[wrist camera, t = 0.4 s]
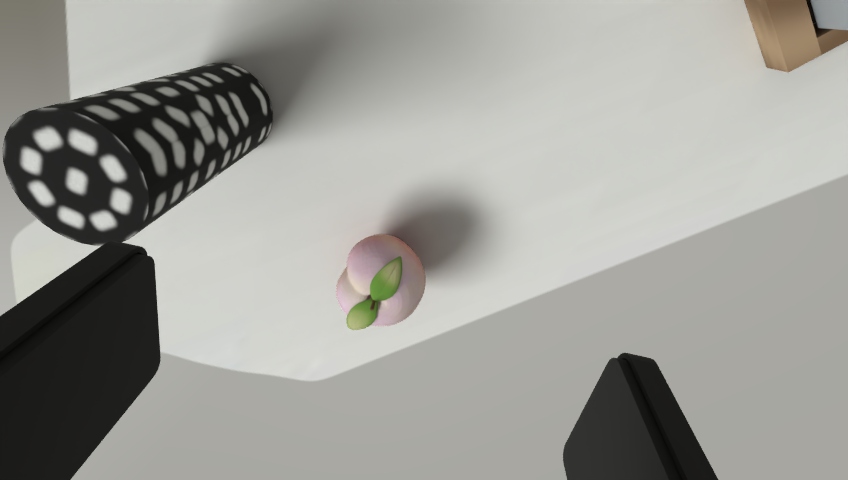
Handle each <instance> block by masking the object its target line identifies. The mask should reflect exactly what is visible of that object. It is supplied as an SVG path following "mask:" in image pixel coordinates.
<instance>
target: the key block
mask: <svg viewBox="0 0 848 480" xmlns="http://www.w3.org/2000/svg"><path fill="white" fill-rule="evenodd" d="M744 1H745V4H746V7H747V10H748V13H749V16H750V19H751V22H752V25H753V28H754V31H755V34H756V37H757V40H758V43H759V46H760V49H761V52H762V55H763V58H764V61H765V64H766V67H767V68H771V69H776V70H780V71H785V72H790V71H792V70H794V69H796V68H798V67H799V66H801V65H803V64H805V63H807V62H809V61H811V60H813V59H814V58H816V57H818V56H820V55H822V54H824V53H826V52H828V51H830V50H831V49H833V48H835V47H837V46H839V45H841V44H843V43H845V42H846V41H848V30H838V29H826V28H818V26H817V23H814V24H813V23H812V19H811V16H810V12H809V9H808V5H807V2H806V0H744Z"/></svg>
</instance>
